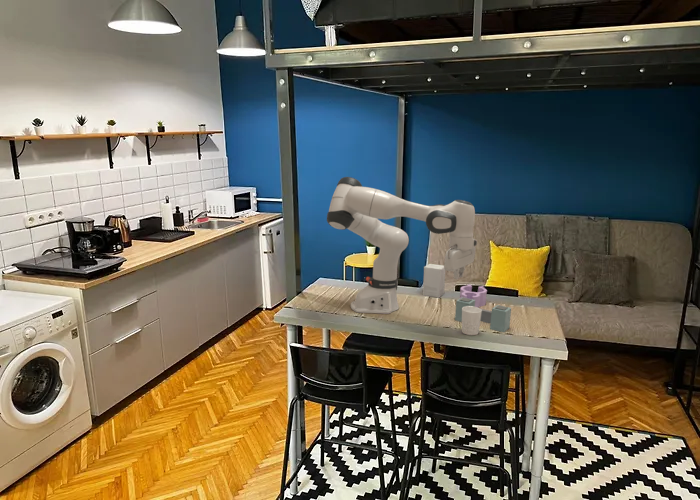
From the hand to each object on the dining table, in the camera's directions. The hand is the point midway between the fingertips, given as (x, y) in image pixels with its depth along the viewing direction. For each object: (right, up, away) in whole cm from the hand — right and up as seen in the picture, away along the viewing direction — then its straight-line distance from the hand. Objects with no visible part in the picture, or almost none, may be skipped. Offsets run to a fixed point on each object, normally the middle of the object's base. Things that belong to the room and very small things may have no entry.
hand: (458, 277), depth 194 cm
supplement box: (+1, -12, +63) cm, 64 cm away
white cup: (+8, -23, +13) cm, 28 cm away
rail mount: (+15, -21, +23) cm, 35 cm away
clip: (+17, -16, +49) cm, 54 cm away
